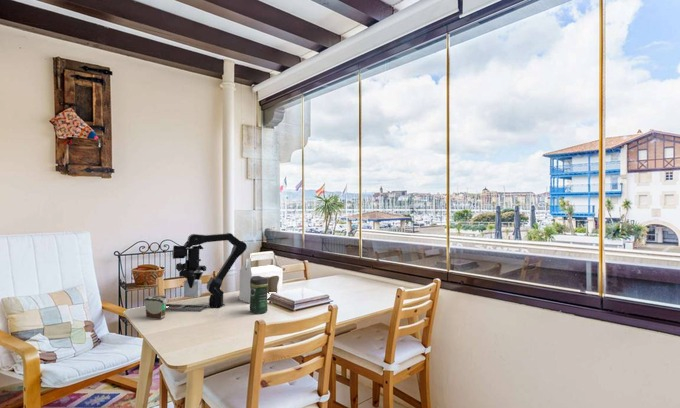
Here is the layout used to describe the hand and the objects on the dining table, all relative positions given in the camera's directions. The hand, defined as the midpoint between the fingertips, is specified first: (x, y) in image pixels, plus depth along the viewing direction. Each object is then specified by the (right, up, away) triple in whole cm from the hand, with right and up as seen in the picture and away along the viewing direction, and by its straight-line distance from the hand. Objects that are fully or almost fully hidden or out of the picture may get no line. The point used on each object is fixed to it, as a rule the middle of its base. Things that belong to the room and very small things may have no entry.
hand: (193, 286), depth 194 cm
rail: (-6, -12, 0) cm, 13 cm away
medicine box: (0, -5, 0) cm, 5 cm away
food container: (-11, -12, -14) cm, 22 cm away
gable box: (+31, -13, +24) cm, 41 cm away
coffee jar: (+36, -13, -3) cm, 38 cm away
